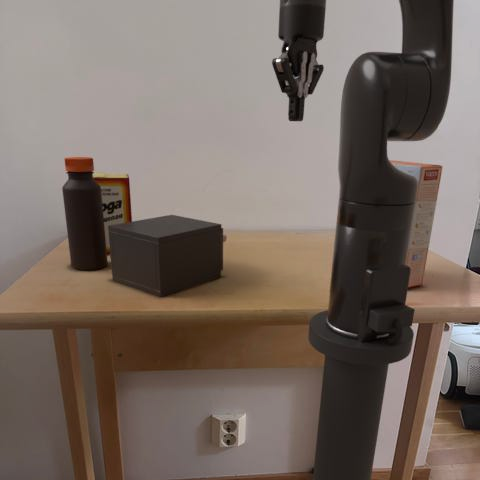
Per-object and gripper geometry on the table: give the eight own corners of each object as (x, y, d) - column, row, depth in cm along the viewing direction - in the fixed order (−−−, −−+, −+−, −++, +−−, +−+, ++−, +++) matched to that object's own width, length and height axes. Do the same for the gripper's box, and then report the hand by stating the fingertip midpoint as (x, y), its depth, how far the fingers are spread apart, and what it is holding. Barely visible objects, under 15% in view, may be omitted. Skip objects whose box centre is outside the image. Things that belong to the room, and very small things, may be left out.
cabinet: (173, 263, 97) (171, 214, 93) (221, 277, 90) (221, 224, 86) (112, 280, 87) (107, 225, 83) (160, 297, 79) (158, 237, 75)
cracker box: (423, 285, 87) (445, 164, 79) (401, 291, 84) (420, 165, 76) (366, 266, 98) (380, 158, 90) (344, 270, 95) (357, 158, 87)
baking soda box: (132, 245, 110) (127, 172, 104) (134, 252, 104) (129, 175, 98) (89, 247, 108) (81, 172, 102) (88, 254, 102) (80, 176, 96)
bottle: (71, 262, 96) (58, 156, 89) (106, 260, 99) (97, 156, 91) (71, 272, 91) (58, 159, 83) (109, 269, 93) (99, 159, 85)
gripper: (299, -5, 72) (292, 121, 79) (342, 11, 82) (332, 122, 89) (259, 2, 77) (256, 120, 83) (304, 16, 86) (298, 121, 93)
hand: (295, 121), depth 86 cm, fingers closed
